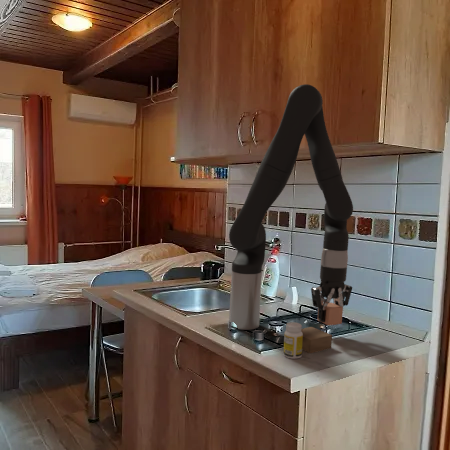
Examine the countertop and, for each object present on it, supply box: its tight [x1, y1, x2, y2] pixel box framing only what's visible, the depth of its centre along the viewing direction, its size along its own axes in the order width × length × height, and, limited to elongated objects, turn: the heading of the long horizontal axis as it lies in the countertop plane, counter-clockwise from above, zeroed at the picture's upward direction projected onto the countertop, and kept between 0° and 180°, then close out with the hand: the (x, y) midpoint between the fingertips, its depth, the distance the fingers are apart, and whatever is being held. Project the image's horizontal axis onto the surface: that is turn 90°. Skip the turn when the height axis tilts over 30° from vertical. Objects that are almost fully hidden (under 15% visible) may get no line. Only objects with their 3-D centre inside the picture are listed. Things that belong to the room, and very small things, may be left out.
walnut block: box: [301, 326, 333, 354], centre depth 129 cm, size 8×8×4 cm
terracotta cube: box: [317, 302, 344, 327], centre depth 138 cm, size 5×5×5 cm
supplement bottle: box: [283, 321, 303, 360], centre depth 122 cm, size 5×5×8 cm
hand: (329, 320), depth 138 cm, fingers closed on terracotta cube, 5 cm apart
